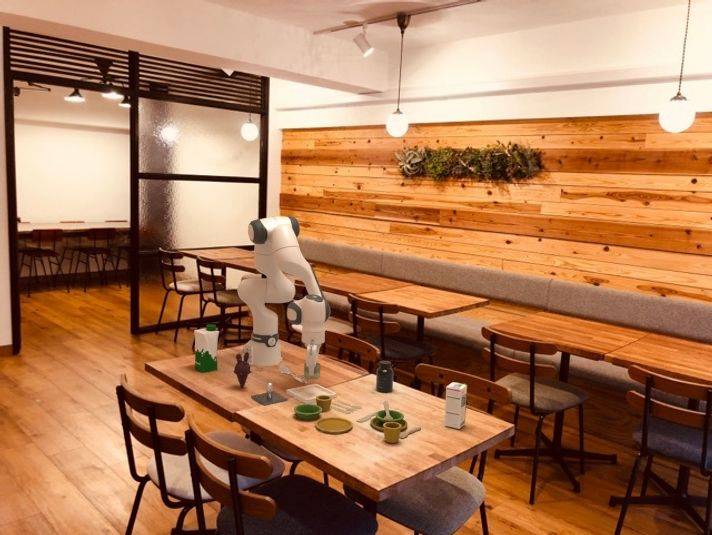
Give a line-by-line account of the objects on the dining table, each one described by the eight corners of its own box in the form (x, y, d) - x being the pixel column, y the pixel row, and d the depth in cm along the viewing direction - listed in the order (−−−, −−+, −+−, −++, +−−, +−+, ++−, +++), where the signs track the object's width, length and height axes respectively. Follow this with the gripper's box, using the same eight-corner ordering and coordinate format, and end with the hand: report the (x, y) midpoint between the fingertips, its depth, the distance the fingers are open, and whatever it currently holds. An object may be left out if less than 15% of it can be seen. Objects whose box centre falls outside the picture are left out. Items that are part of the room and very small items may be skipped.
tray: (286, 394, 236) (286, 389, 236) (315, 388, 245) (316, 383, 245) (306, 404, 225) (306, 400, 225) (336, 398, 234) (336, 393, 234)
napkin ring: (301, 377, 233) (301, 364, 232) (310, 373, 238) (310, 361, 237) (313, 380, 230) (314, 367, 229) (322, 376, 235) (323, 364, 234)
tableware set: (426, 430, 208) (427, 412, 207) (377, 455, 186) (378, 435, 186) (337, 400, 234) (337, 384, 233) (284, 418, 212) (285, 401, 212)
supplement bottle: (380, 386, 250) (382, 358, 249) (395, 390, 247) (396, 361, 245) (372, 391, 244) (374, 362, 243) (387, 394, 241) (389, 365, 239)
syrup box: (459, 429, 208) (462, 388, 206) (443, 425, 211) (446, 385, 209) (465, 424, 213) (467, 384, 211) (449, 420, 216) (451, 381, 214)
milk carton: (220, 372, 260) (221, 326, 258) (201, 375, 254) (201, 329, 252) (210, 367, 267) (210, 322, 264) (191, 370, 261) (191, 325, 258)
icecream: (239, 393, 234) (240, 356, 233) (229, 388, 240) (230, 351, 238) (254, 389, 239) (255, 353, 237) (244, 385, 245) (244, 349, 243)
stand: (251, 398, 230) (251, 381, 229) (273, 393, 236) (274, 377, 235) (264, 406, 222) (264, 389, 221) (287, 401, 228) (288, 384, 228)
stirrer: (313, 384, 249) (314, 373, 249) (307, 386, 247) (307, 375, 246) (283, 373, 263) (283, 362, 263) (276, 374, 261) (277, 364, 260)
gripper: (319, 344, 222) (318, 380, 223) (322, 331, 242) (321, 365, 244) (302, 343, 222) (301, 379, 223) (307, 331, 242) (305, 364, 244)
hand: (312, 372), depth 234 cm, fingers closed on napkin ring, 6 cm apart
